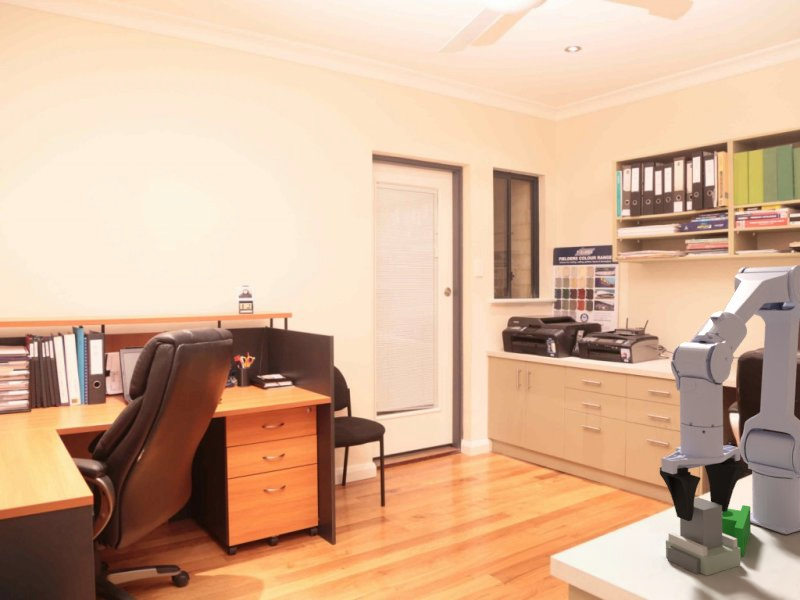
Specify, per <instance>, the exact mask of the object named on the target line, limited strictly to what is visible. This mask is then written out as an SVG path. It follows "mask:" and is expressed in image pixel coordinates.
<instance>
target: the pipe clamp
mask: <svg viewBox="0 0 800 600" xmlns="http://www.w3.org/2000/svg"><path fill="white" fill-rule="evenodd" d="M750 514H751V506H750V505H741V509H740V510H739V509H732V508H728V510H727V511H726V512H723V511H722V533H724V534H726V535H729V536H731V537H734V538H737V547H739V548H740V558H741V557H742V558H744V556H745V553H746V551H747V550H746V549H747V546H748V543H749V539H750V536H751V530H752V529H751V522H750Z"/></svg>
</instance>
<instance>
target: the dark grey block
mask: <svg viewBox="0 0 800 600" xmlns="http://www.w3.org/2000/svg"><path fill="white" fill-rule="evenodd" d="M679 527H680V528H679V529H680V531H679V532H680V533H679V534H680V535H679V536H682V537H684V538H687V539H689V540H691V541H694V542H696V543H698V544H701V545H703V546H705V547H707V550H710V549H713V548H717V547H720V546H722V505H719V504H716V503H713V502H711V500H710V501H709V500H708V499H705V498H701V497H695V498H694V511H693V518H692V520H691V521H686V520H684V519H681V518H679Z"/></svg>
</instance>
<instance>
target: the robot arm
mask: <svg viewBox="0 0 800 600" xmlns="http://www.w3.org/2000/svg"><path fill="white" fill-rule="evenodd" d="M733 286H734V294H732V296H731V298H730V300H729V301H728V303H727V304H726V306H725V308H724V309H723V311H717V312H713V313H712V314H711V315H710V316H709V318H707V320H706V321H705V322H704V324H703V325H702V326H701V328H700V329H699V330H698V331H697V333H695V335H694V337H692V338H691V340H690V341H684V342H682V343H681V344H679V345H677V346H676V347H675V349H674V350H673V353H672V356H671V357H672V358H671V361H670V367H671V371H672V374H673V376H674V378H675V388H676V390H677V391H679V423H680V425H679V426H680V428H679V430H680V431H679V432H680V434H679V436H680V446H676V447H675V451H674V452H673V453H671V454H669V455H668V456H664V457H661V461H660V462H661V466H660V467H659V475H660V477H661V478H662V480H663V482H664V484H665V485H666V487H667V489H668V490H669V491H668V492H669V493H670V497H671V500H672V503H673V505H674V510H675V514H676V517H677V518H679V519H680V518H681V519H684V520H686V521H691V520H692V518H693V511H694V498H696V497H695V496H696V492H697V488H698V485H699V483H700V481H701V479H702V478H701V477H700V476H697V475H694V474H691V471H689V470H690V469H694V468H699V467H704V468H705V471H706V474H707V478H708V484H709V495H710V497H709V498H710V502H713V503H716V504H719V505H722V511H723V512H726V511H727V510H728V509H729V506H730V502H731V499H732V496H733V493H734V489H735V487H736V484H737V482H738V480H739V479H740V477H741V476H742V474H743V473H744V472H745V467H744V466H745V465H744V464H742V463H739V462H737V461H740V460H741V458H742V460H743V462H745V463H746V464H747V469H748V470H751V471H752V474H751V475H752V476H751V477H752V480H751V481H752V482H751V484H752V495H751V496H752V497H751V498H752V502H751V503H752V513H751V512H750V524H751V523H752V524H754V525H758V527H759V526H761V527H762V528H764V529H765V528H766V529H768V530H771V531H774V532H777V533H779V534H782V535H788V534H791V533H792V534H793V533H796V532H799V531H800V419H799V418H798V417H796V415H795V404H796V403H795V400H796V399H795V398H796V382H797V366H798V363H797V362H798V348H799V347H798V345H799V328H800V264H795V265H785V266H784V265H783V266H763V267H762V266H760V267H759V266H758V267H749V266H743V267H741V268H740V269H739V270H738V271H737V273H736V275H735V276H734V283H733ZM755 315H756V316H758V317H761V319H762V321H763V322H764V325H765V327H764V340H763V358H762V359H763V360H762V375H761V392H760V408H759V410H760V411H759V412H758V413H757V414H756V415H754V416H752V417H750V418H748V419H747V420H746V421H745V422H744V425H743V433H742V435H741V438H740V441H739V447H738V446H733V445H731V444H727V445H726V444H725V445H724V404H723V403H724V401H723V400H724V399H723V398H724V394H723V392H724V391H723V390H724V389H723V383H724V382H725V381H726V380H727V379H729V377H730V374H731V370H732V364H733V362H734V359H735V357H734V353H735V352H736V351H737V349H738V348H739V347H740V345H741V344H742V342H743V341H744V339H745V338H746V336H747V335H748V329H747V325H746V324H747V323H748V322H749V320H751V319H752V317H753V316H755ZM767 430H769V431H767ZM774 431H776V432H774ZM779 432H782V433H779ZM784 433H786V434H784Z"/></svg>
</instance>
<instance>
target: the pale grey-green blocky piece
mask: <svg viewBox="0 0 800 600" xmlns="http://www.w3.org/2000/svg"><path fill="white" fill-rule="evenodd" d="M665 557H666V558H667V561H669V562H670V563H672V564H674V565H677V566H679V567H681V568H683V569H685V570H687V571H690V572H691V573H694V574H696V575H698V574H702V575H705V576H706V577H707V576H710V575H714V574H716V573H721V572H723V571H726V570H729V569H732V568H736V567H739V566H741V563H742V562H741V557H740V548H739V547H737V538H734V537H731V536H729V535H726V534H724V533H722V546H720V547H717V548H713V549H710V550H707V547H705V546H703V545H701V544H698V543H696V542H694V541H691V540H689V539H687V538H684V537H682V536H680V535H679V534H677V533H675V532H669V533H668V539H666V540H665Z"/></svg>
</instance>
